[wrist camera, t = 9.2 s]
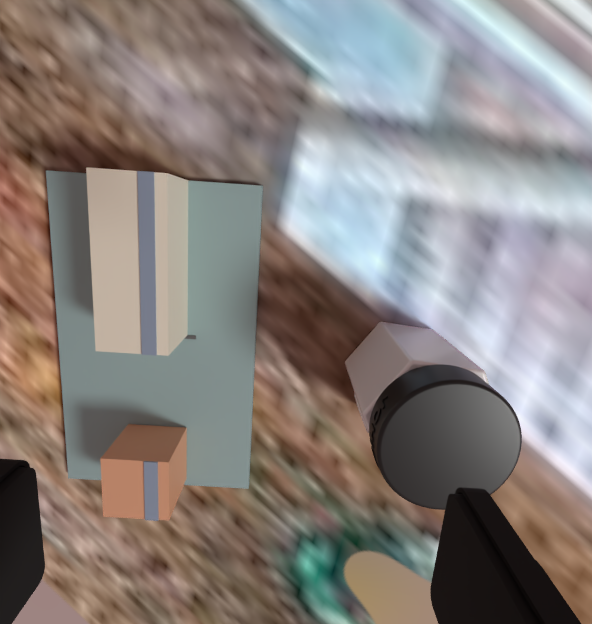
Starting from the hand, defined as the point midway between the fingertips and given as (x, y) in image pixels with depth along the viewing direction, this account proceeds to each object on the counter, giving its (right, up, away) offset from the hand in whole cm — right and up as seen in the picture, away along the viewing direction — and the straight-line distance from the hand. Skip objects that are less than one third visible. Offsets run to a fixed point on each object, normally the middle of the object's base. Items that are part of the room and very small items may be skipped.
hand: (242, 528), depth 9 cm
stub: (-11, -7, +26) cm, 29 cm away
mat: (-10, +2, +24) cm, 26 cm away
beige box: (-10, +9, +22) cm, 26 cm away
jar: (+10, 0, +25) cm, 27 cm away
